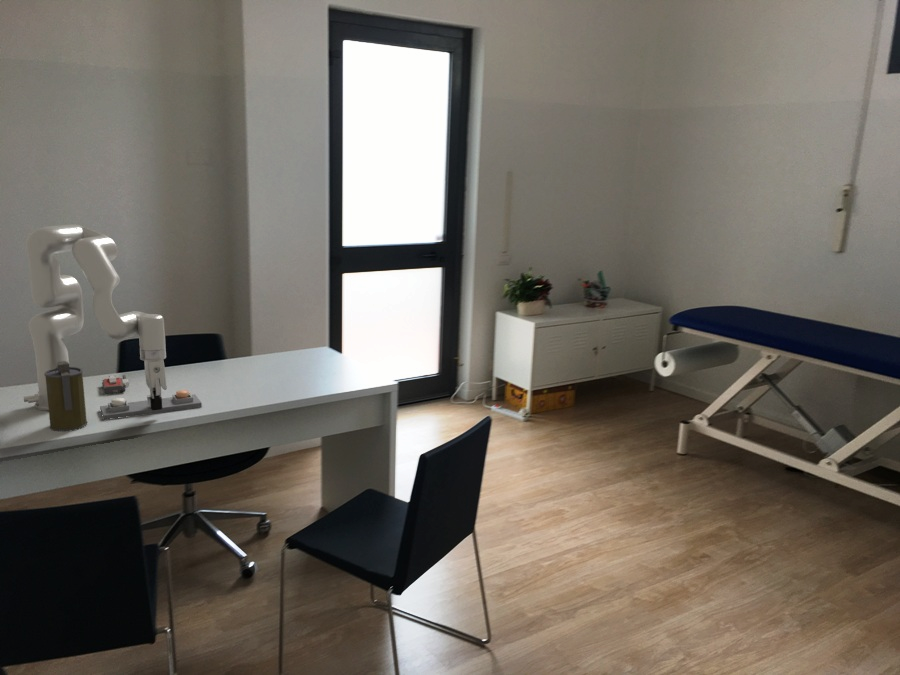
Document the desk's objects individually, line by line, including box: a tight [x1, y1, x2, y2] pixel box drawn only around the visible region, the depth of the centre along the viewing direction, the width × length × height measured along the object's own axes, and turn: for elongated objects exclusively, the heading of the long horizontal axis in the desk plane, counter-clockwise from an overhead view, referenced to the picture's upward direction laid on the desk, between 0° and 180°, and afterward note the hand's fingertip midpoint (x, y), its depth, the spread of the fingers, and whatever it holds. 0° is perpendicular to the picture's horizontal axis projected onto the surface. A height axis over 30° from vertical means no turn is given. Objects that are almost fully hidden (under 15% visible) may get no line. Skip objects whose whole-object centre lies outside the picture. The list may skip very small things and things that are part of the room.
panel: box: [99, 392, 203, 420], centre depth 244 cm, size 30×10×3 cm, turn 121°
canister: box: [44, 361, 88, 432], centre depth 224 cm, size 11×10×20 cm
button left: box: [110, 397, 126, 407], centre depth 238 cm, size 4×4×2 cm
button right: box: [175, 389, 190, 399], centre depth 248 cm, size 4×4×2 cm
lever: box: [146, 394, 151, 407], centre depth 241 cm, size 2×3×4 cm, turn 121°
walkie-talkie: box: [101, 374, 130, 395], centre depth 266 cm, size 9×4×20 cm
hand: (156, 409), depth 235 cm, fingers closed
